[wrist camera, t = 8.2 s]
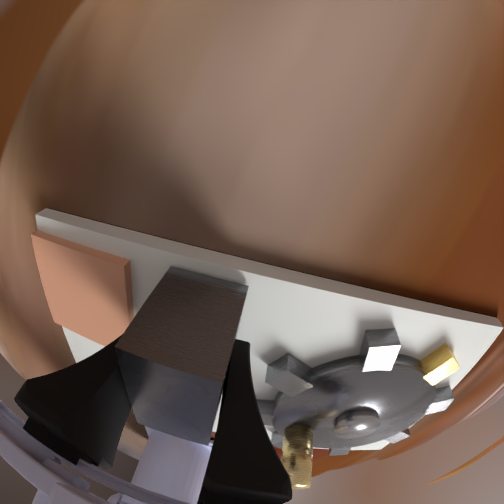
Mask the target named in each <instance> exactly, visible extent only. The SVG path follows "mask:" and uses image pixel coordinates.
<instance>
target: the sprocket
mask: <svg viewBox="0 0 504 504" xmlns="http://www.w3.org/2000/svg"><path fill="white" fill-rule="evenodd" d="M400 347H401V343H400V340H399V337H398V334H397V331H396V329H395V328H388V329H371V330H365V334H364V338H363V342H362V346H361V350H360V354H359V355H355V356H350V357H345V358H341V359H337V360H333V361H330V362H327V363H324V364H321V365H318V366H316V367H313V368H311V367H310V366H308V365H307V364H305V363H303V362H302V361H300V360H299V359H297V358H296V357H294V356H293V355H291V354H290V353H287V354H285V355H283V356H282V357H280V358H279V359H277V360H275V361H274V362H272V363H270V364H269V365H267V372H266V379H265V383H267V384H269V385H271V386H272V387H274V388H276V389H278V390H279V392H278V393H277V395H276V397H275V400H261V399H256V400H257V404H258V408H259V411H260V414H261V417H262V420H263V423H264V425H267V426H273V427H274V428H275V430H276V431H275V432H272V437H271V443H272V445H273V446H275V447H278V448H280V449H282V456H281V463H282V464H283V466H284V468H285V469H286V471H287V473H288V474H289V476H290V480H291V485H292V490H301V489H307V488H310V486H311V473H312V454H313V447H315V448H326V449H329V456H332V455H347V454H348V452H349V451H350V449H351V447H357V446H362V445H367V444H371V443H374V442H378V441H381V440H386V441H389V442H392V443H395V442H397V441H400V440H402V439H404V438H406V437H409V436H410V433H409V427H410V426H412V425H413V424H414V423H416V422H417V421H418V420H420V419H421V418H422V417H423V416H424V415H426V414H431V413H435V412H439V411H444V410H446V408H447V407H448V406H449V405H450V403H451V402H452V401H453V399H454V396H453V393H452V390H451V387H450V386H446V387H441V388H436V387H435V384H436V383H438V382H439V381H441V380H442V379H444V378H445V377H447V376H448V375H450V374H451V373H453V372H454V371H456V370H457V369H459V368H460V367H459V365H458V362H457V360H456V358H455V355H454V353H453V352H452V350H451V349H450V348H449V346H448V345H447V344H446V343H445V344H443V345H442V346H441V347H439V348H438V349H436V350H435V351H433V352H432V353H431V354H429V355H428V356H426V357H425V358H423V359H422V360H418V359H416V358H414V357H411V356H408V355H403V354H398V352H399V349H400Z"/></svg>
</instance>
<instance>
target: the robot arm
mask: <svg viewBox="0 0 504 504" xmlns="http://www.w3.org/2000/svg"><path fill="white" fill-rule="evenodd" d="M122 335H123V334H122ZM122 335H121V336H122ZM121 336H119V337H118V338H117V339H115V340H114V341H113V342H111V343H110V344H108V345H107V346H105V347H104V348H102V349H101V350H99V351H98V352H96V353H94V354H93V355H91V356H89V357H87V358H85V359H84V360H82V361H80V362H78V363H76V364H73V365H71V366H69V367H67V368H64V369H62V370H59V371H56V372H53V373H51V374H48V375H44V376H40V377H36V378H32V379H28V380H27V381H26V382H25V383H24V384H23V386H22V387H21V389H20V390H19V392H18V393H17V395H16V397H15V398H14V399H15V402H16V403H17V404H18V406H19V407H20V408H21V409H22V410H23V411H24V412H25V414H26V415H27V416H28V417H29V418H28V420H27V421H26V422H25V421H23V420H22V419H21V418H20V417H18V416H17V415H16V414H15V413H14V412H12V411H11V410H10V409H9V408H8V407H7V406H5V405H4V404H3V403H2V401H1V400H0V455H1V456H2V457H3V458H4V459H5V460H6V461H7V462H8V463H9V464H10V465H11V466H12V467H13V468H14V469H15V470H16V471H17V472H19V473H20V474H21V475H22V476H23V477H24V478H25V479H27V480H28V481H29V482H30V483H31V484H32V485H34V486H35V487H36V488H37V489H38V491H37V493H36V496H35V498H34V500H33V502H32V504H283V503H285V502H288V501H289V500H291V499H292V485H291V480H290V476H289V474H288V473H287V471H286V469H285V468H284V466H283V464H282V463H281V461H280V459H279V457H278V455H277V453H276V451H275V449H274V447H273V445H272V443H271V440H270V438H269V436H268V434H267V431H266V429H265V426H264V423H263V420H262V417H261V414H260V411H259V408H258V404H257V400H256V396H255V391H254V386H253V380H252V374H251V365H250V345H251V344H250V343H249V342H247V341H243V340H239V339H236V340H235V343H234V347H233V351H232V354H231V358H230V362H229V367H228V371H227V375H226V379H225V383H224V388H223V393H222V400H221V406H220V412H219V419H218V425H217V430H216V434H215V438H214V441H213V440H210V442H209V446H206V445H202V444H199V443H195V442H192V441H188V440H185V439H182V438H178V437H175V436H172V435H169V434H166V433H163V432H160V431H158V430H155V429H152V428H149V427H147V426H145V428H146V431H147V434H148V437H149V438H148V441H147V443H146V446H145V448H144V451H143V453H142V456H141V459H140V461H139V464H138V466H137V469H136V471H135V474H134V477H133V479H132V482H131V483H128V482H126V481H124V480H122V479H119V478H117V477H115V476H113V475H111V474H109V473H107V472H104V471H102V470H100V469H98V468H97V467H95V466H93V465H91V464H94V465H96V466H100V467H102V468H104V469H108V468H111V467H112V465H113V461H114V457H115V454H116V450H117V446H118V443H119V440H120V437H121V433H122V431H123V428H124V425H125V422H126V419H127V417H128V414H129V412H130V409H131V403H130V400H129V397H128V394H127V391H126V388H125V384H124V381H123V377H122V374H121V370H120V367H119V363H118V359H117V355H116V351H115V345H116V344H117V342H118V341H119V339H120V338H121ZM60 461H62V462H63V463H65V464H67V465H68V466H70V467H72V468H73V469H75V470H77V471H79V472H80V473H82V474H84V475H85V476H87V477H89V478H91V479H93V480H95V481H97V482H99V483H101V484H103V485H105V486H107V487H109V488H111V489H113V490H115V491H118V492H120V493H117V494H115V495H112V496H111V497H110V498H109V499H108V501H105V500H103V499H101V498H99V497H97V496H95V495H93V494H91V493H90V492H88V488H89V486H90V484H89V483H88V482H87V481H85V480H83V479H82V478H80V477H79V476H77V475H76V474H74V473H73V472H71V471H70V470H68V469H66V468H65V467H63V466H62V465H61V462H60ZM121 493H122V494H121Z"/></svg>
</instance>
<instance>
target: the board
mask: <svg viewBox="0 0 504 504" xmlns="http://www.w3.org/2000/svg"><path fill="white" fill-rule="evenodd" d="M35 216H36V223H37V231H35V232H34V233H32V234H31V237H32V242H33V247H34V252H35V257H36V261H37V265H38V270H39V273H40V277H41V281H42V285H43V288H44V292H45V295H46V298H47V302H48V305H49V308H50V311H51V314H52V317H53V319H54V322H56V323H57V324H59V325H61V326H62V328H63V330H64V333H65V336H66V339H67V341H68V344H69V346H70V349H71V351H72V354H73V356H74V359H75V361H76V363H78V362H80V361H82V360H84V359H85V358H87V357H89V356H91V355H93V354H94V353H96V352H98V351H99V350H101V349H102V348H104V347H105V346H107V345H108V344H110V343H111V342H113V341H114V340H115V339H117V338H118V337H119V336H121V335H122V334H123V333H124V332H125V330H126V329H127V327H128V326H129V324H130V323H131V321H132V320H133V318H134V317H135V315H136V314H137V312H138V311H139V310H140V308H141V307H142V305H143V304H144V302H145V301H146V300H147V298H148V297H149V295H150V294H151V292H152V291H153V290H154V288H155V287H156V285H157V284H158V283H159V281H160V280H161V279H162V277H163V276H164V274H165V273H166V272H167V270H168V269H169V268H170V266H174V267H177V268H181V269H185V270H189V271H192V272H196V273H200V274H204V275H208V276H211V277H215V278H219V279H223V280H227V281H231V282H235V283H239V284H243V285H247V286H249V287H248V291H247V296H246V300H245V304H244V308H243V312H242V317H241V321H240V325H239V329H238V333H237V337H236V339H239V340H243V341H247V342H249V343H250V344H251V345H250V365H251V374H252V380H253V386H254V391H255V396H256V399H261V400H275V397H276V395H277V393H278V392H279V390H278V389H276V388H274V387H272V386H271V385H269V384H267V383H265V379H266V372H267V365H269V364H270V363H272V362H274V361H275V360H277V359H279V358H280V357H282V356H283V355H285V354H287V353H290V354H291V355H293V356H294V357H296V358H297V359H299V360H300V361H302V362H303V363H305V364H307V365H308V366H310V367H311V368H313V367H316V366H318V365H321V364H324V363H327V362H330V361H333V360H337V359H341V358H345V357H350V356H355V355H359V354H360V350H361V346H362V342H363V338H364V334H365V330H371V329H388V328H395V329H396V331H397V334H398V337H399V340H400V343H401V347H400V349H399V352H398V354H403V355H408V356H411V357H414V358H416V359H418V360H422V359H423V358H425V357H426V356H428V355H429V354H431V353H432V352H433V351H435V350H436V349H438V348H439V347H441V346H442V345H443V344H445V343H446V344H447V345H448V346H449V348H450V349H451V350H452V352H453V353H454V355H455V358H456V360H457V362H458V365H459V367H460V368H459V369H457V370H456V371H454V372H453V373H451V374H450V375H448V376H447V377H445V378H444V379H442V380H441V381H439V382H438V383H436V384H435V387H436V388H441V387H446V386H450V387H451V390H452V389H453V388H454V387H455V386H456V385H457V384H458V383H459V382H460V381H461V380H462V379H463V377H464V376H465V375H466V374H467V373H468V372H469V371H470V370H471V369H472V367H473V366H474V365H475V364H476V363H477V362H478V360H479V359H480V358H481V357H482V356H483V354H484V353H485V352H486V351H487V349H488V348H489V347H490V346H491V344H492V343H493V342H494V340H495V339H496V338H497V336H498V335H499V334H500V332H501V331H502V329H503V328H504V327H503V326H502V324H501V323H500V321H499V320H498V318H496V317H491V316H487V315H482V314H478V313H473V312H469V311H464V310H460V309H455V308H451V307H446V306H442V305H438V304H433V303H429V302H424V301H420V300H416V299H411V298H407V297H403V296H398V295H394V294H390V293H386V292H381V291H377V290H373V289H369V288H364V287H360V286H356V285H352V284H347V283H343V282H339V281H335V280H331V279H326V278H322V277H318V276H314V275H310V274H306V273H301V272H297V271H293V270H289V269H285V268H281V267H277V266H272V265H268V264H264V263H260V262H256V261H252V260H248V259H244V258H240V257H236V256H232V255H228V254H224V253H220V252H216V251H212V250H208V249H204V248H200V247H196V246H192V245H188V244H184V243H180V242H176V241H172V240H168V239H164V238H160V237H156V236H152V235H148V234H144V233H140V232H136V231H132V230H129V229H125V228H121V227H117V226H113V225H109V224H105V223H101V222H98V221H94V220H90V219H86V218H82V217H78V216H75V215H71V214H67V213H63V212H59V211H56V210H52V209H48V208H45V209H44V210H42V211H40V212H38V213H37V214H35ZM221 400H222V397H221ZM220 406H221V401H220V404H219V408H218V412H217V416H216V419H215V423H214V427H213V432H216V430H217V425H218V419H219V412H220ZM414 424H415V423H414ZM414 424H413V425H414ZM264 426H265V429H266V431H267V434H268V436H269V438H270V440H271V437H272V432H275V431H276V430H275V428H274V427H273V426H267V425H264ZM410 427H411V426H410ZM410 427H409V428H410ZM389 443H390V442H389V441H386V440H381V441H378V442H374V443H371V444H367V445H362V446H357V447H351V449H350V450H379V449H382V448H383V447H385V446H386V445H387V444H389ZM313 448H315V447H313ZM318 449H326V448H318Z"/></svg>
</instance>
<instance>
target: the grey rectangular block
mask: <svg viewBox="0 0 504 504" xmlns="http://www.w3.org/2000/svg"><path fill="white" fill-rule="evenodd" d="M248 287H249V286H247V285H243V284H239V283H235V282H231V281H227V280H223V279H219V278H215V277H211V276H208V275H204V274H200V273H196V272H192V271H189V270H185V269H181V268H177V267H174V266H170V268H169V269H168V270H167V272H166V273H165V274H164V276H163V277H162V279H161V280H160V281H159V283H158V284H157V285H156V287H155V288H154V290H153V291H152V292H151V294H150V295H149V297H148V298H147V300H146V301H145V302H144V304H143V305H142V307H141V308H140V310H139V311H138V312H137V314H136V315H135V317H134V318H133V320H132V321H131V323H130V324H129V326H128V327H127V329H126V330H125V332H124V333H123V335H122V336H121V338H120V339H119V341H118V342H117V344H116V345H115V351H116V355H117V359H118V363H119V367H120V370H121V374H122V377H123V381H124V384H125V388H126V391H127V394H128V397H129V400H130V403H131V406H132V409H133V412H134V415H135V418H136V420H137V423H139V424H142V425H144V426H147V427H149V428H152V429H155V430H158V431H160V432H163V433H166V434H169V435H172V436H175V437H178V438H182V439H185V440H188V441H192V442H195V443H199V444H202V445H206V446H209V442H210V438H211V434H212V431H213V427H214V423H215V419H216V416H217V412H218V408H219V404H220V401H221V397H222V393H223V388H224V383H225V379H226V375H227V371H228V367H229V362H230V358H231V354H232V351H233V347H234V343H235V340H236V337H237V333H238V329H239V325H240V321H241V317H242V312H243V308H244V304H245V300H246V296H247V291H248Z"/></svg>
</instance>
